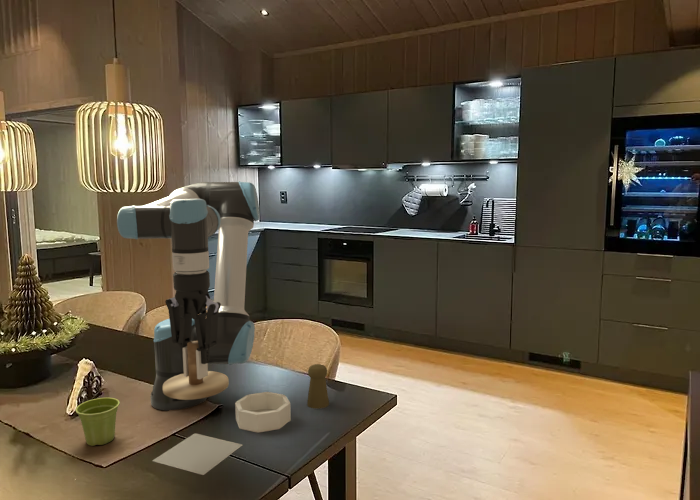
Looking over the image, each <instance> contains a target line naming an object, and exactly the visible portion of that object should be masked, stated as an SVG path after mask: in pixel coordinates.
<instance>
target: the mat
mask: <svg viewBox="0 0 700 500" xmlns="http://www.w3.org/2000/svg"><path fill="white" fill-rule="evenodd" d="M242 446H243V444H241V443H237V442H233V441H228V440H225V439H221V438H216V437H212V436H207V435H204V434H200V433H197V432H196V433H193V434H191V435H190V436H188V437H187V438H185V439H183V440H182V441H181V442H178V443H177V444H176V445H174V446H173V447H172V448H169V449H168V450H166V451H165V452H163V453H162V454H160V455H159V456H157V457H155V458H154V459H153V460H152V462H153V463H158V464H161V465H165V466H168V467H172V468H175V469H176V468H177V469H180V470H184V471H186V472H187V471H188V472H191V473H194V474H197V475H202V476H204V475H206V474H207V473H208V472H210V471H211V470H212V469H214V468H215V467H217V465H219V464H220V463H221V462H223V461H224V460H226V459H227V458H228V457H230V455H232V454H233V453H235V451H237V450H238V449H239V448H241V447H242Z"/></svg>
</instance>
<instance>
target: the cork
mask: <svg viewBox="0 0 700 500" xmlns="http://www.w3.org/2000/svg"><path fill="white" fill-rule="evenodd" d="M307 371H308V376H309V386H308V387H309V388H308V395H307V404H306V406H307V407H309V408H310V409H314V410H319V409H320V410H321V409H325V408H327V407H329V405H330V400H329V394H328V388H327V387H328V386H327V380H326V379H327V375H328V368H327V366H326V365H324V364H320V363H317V364H311V365H310V366H309V367H308V370H307Z"/></svg>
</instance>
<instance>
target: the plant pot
mask: <svg viewBox="0 0 700 500" xmlns="http://www.w3.org/2000/svg"><path fill="white" fill-rule="evenodd" d="M120 402H121V401H120V400H119V399H117V398H114V397H99V398H94V399H93V398H92V399H90V400H87V401H84V402H82V403H80V404H79V405H78V406H76V407H75V412H76V415H78V418H79V419H80V422H81V425H82V430H83V435H84V439H85V442H86V444H87V445H88V446H96V445H97V446H98V445H99V446H103V445H106V444H109V443H110V442H112V441H114V438H115V436H116V434H115V433H116V419H117V412H118V410H119V409H118V408H119V406H120Z"/></svg>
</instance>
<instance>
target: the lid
mask: <svg viewBox="0 0 700 500" xmlns="http://www.w3.org/2000/svg"><path fill="white" fill-rule="evenodd" d="M197 348H199V346H198V341H191V342H188V343H187V351H188V372H189V376H188V377H184V374H180V375H177V376H174V377H172V378H170V379H168V380H167V381H165V382H164V384H163V393H164V394H165V395H166V396H168V397H170V398H174V399H181V400H192V399H201V398H206V397H207V398H210V397H212V396H216V395H218V394H220V393H222V392H224V391H225V390H227V388H228V387H229V382H230V381H229V377H228V376H227V375H226V373H225V374H224V373H222V372H218V371H213V370H208V376H206V377H204V378H202V379H197V365H196V350H197Z"/></svg>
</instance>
